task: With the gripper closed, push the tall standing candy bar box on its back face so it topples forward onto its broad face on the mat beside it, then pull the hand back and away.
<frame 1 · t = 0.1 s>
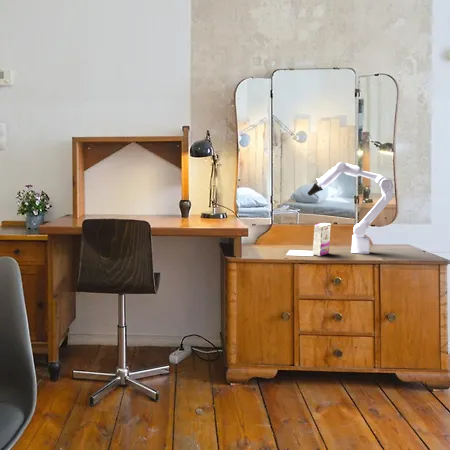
hand: (309, 194, 252), 32 cm above the table, tool tilted 50°, fingers open, 7 cm apart
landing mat: (300, 253, 244), on the table
candy bar box: (320, 254, 242), on the table, touching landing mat
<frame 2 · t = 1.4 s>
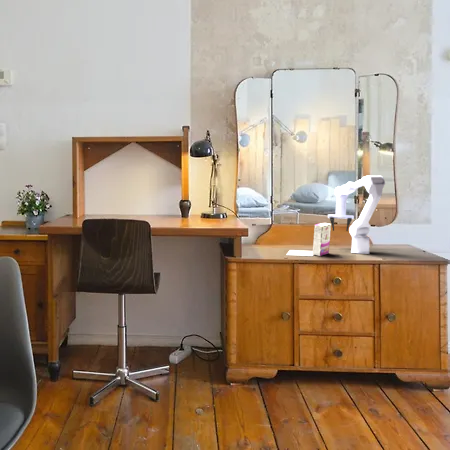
hand: (340, 230, 260), 10 cm above the table, tool pointing down, fingers open, 7 cm apart
nothing on the table moved.
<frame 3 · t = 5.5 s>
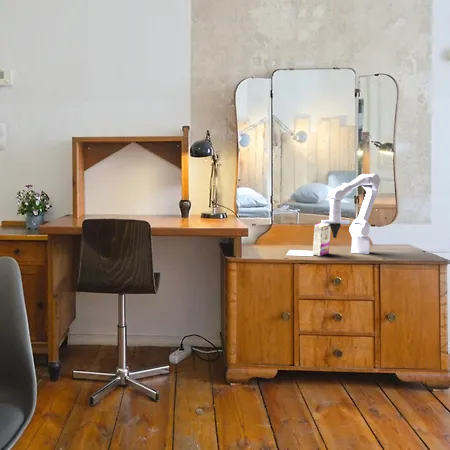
hand: (334, 237, 239), 9 cm above the table, tool pointing down, fingers closed
candy bar box: (320, 254, 242), on the table, touching gripper, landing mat
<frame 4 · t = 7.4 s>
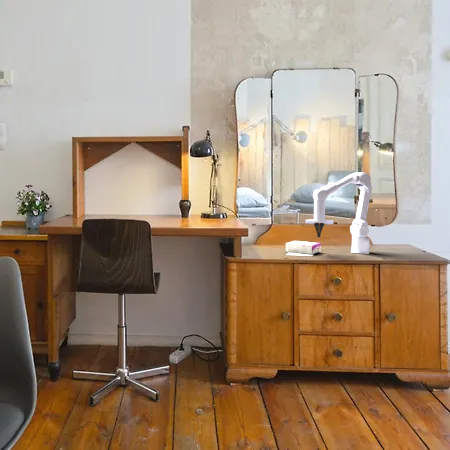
hand: (318, 237, 241), 9 cm above the table, tool pointing down, fingers closed
candy bar box: (316, 249, 242), point 3 cm above the table, touching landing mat
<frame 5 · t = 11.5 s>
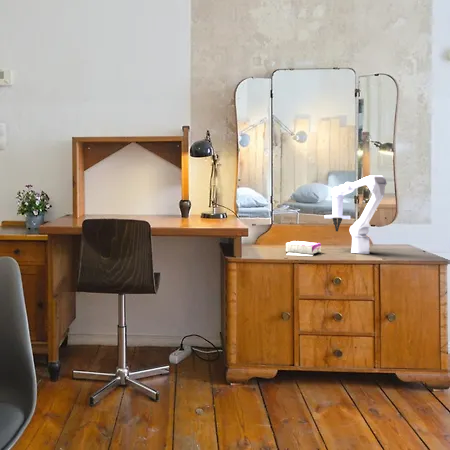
hand: (336, 231, 259), 10 cm above the table, tool pointing down, fingers closed
nothing on the table moved.
at the end: candy bar box tilted 89°; candy bar box inside the target area (2.2 cm from its centre), point 2.7 cm above the table; candy bar box touching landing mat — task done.
